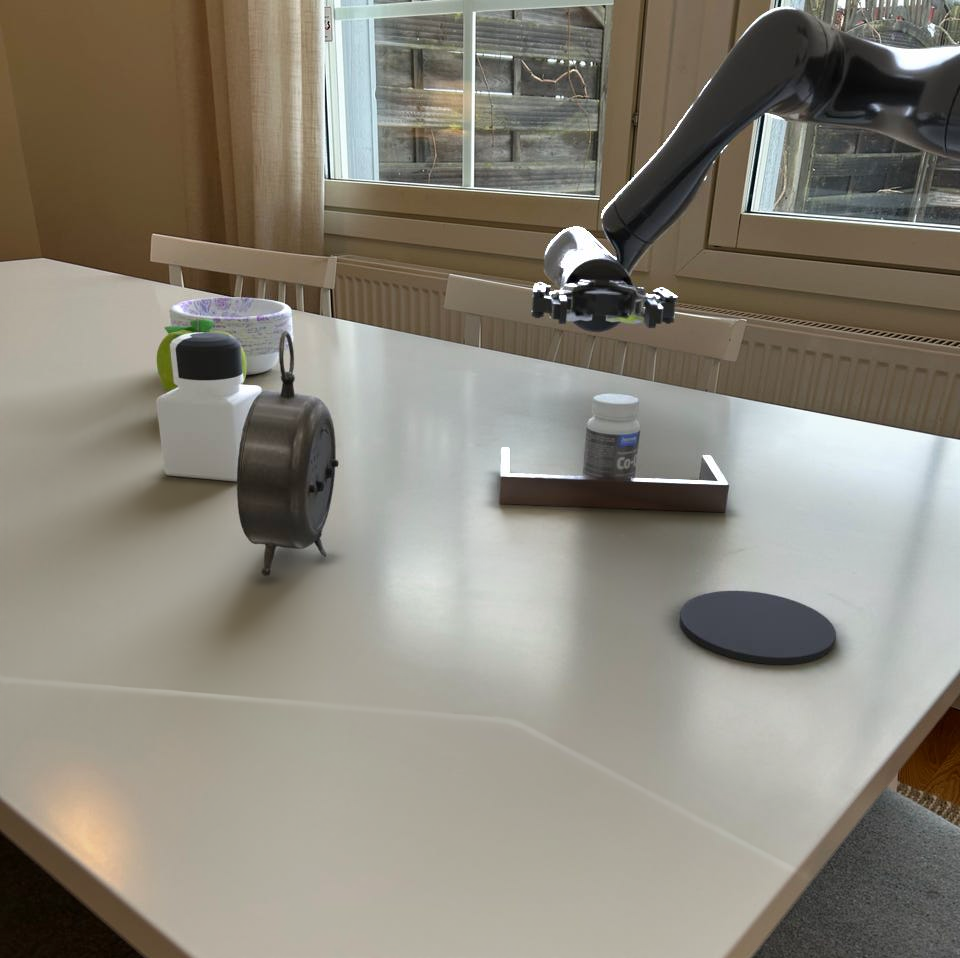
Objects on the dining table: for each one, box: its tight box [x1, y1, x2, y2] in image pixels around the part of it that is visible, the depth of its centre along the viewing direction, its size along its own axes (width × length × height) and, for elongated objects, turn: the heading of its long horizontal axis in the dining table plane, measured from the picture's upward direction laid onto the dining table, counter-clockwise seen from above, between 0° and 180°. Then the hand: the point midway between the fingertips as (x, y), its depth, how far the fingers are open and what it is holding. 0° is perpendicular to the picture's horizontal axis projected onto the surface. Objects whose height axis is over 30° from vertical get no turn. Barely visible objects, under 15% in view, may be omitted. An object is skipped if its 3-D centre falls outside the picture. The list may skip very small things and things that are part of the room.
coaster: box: [679, 590, 837, 666], centre depth 65 cm, size 10×10×1 cm
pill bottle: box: [581, 393, 641, 478], centre depth 87 cm, size 5×5×8 cm
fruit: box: [156, 319, 247, 393], centre depth 107 cm, size 9×9×10 cm
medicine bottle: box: [155, 332, 263, 482], centre depth 89 cm, size 7×7×12 cm
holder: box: [498, 447, 730, 513], centre depth 88 cm, size 9×20×2 cm, turn 89°
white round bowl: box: [169, 296, 294, 376], centre depth 127 cm, size 15×15×8 cm
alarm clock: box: [236, 331, 339, 577], centre depth 70 cm, size 11×5×16 cm, turn 174°
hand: (608, 315), depth 93 cm, fingers open, 8 cm apart
